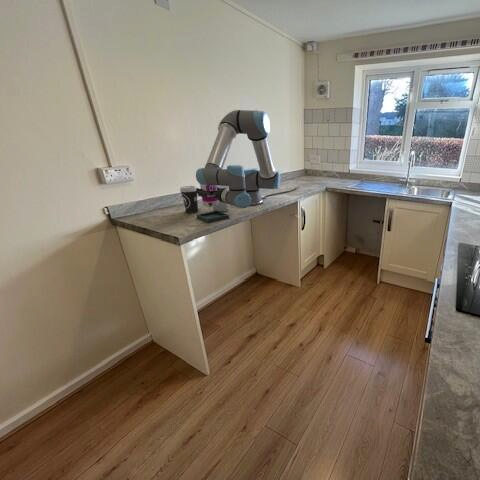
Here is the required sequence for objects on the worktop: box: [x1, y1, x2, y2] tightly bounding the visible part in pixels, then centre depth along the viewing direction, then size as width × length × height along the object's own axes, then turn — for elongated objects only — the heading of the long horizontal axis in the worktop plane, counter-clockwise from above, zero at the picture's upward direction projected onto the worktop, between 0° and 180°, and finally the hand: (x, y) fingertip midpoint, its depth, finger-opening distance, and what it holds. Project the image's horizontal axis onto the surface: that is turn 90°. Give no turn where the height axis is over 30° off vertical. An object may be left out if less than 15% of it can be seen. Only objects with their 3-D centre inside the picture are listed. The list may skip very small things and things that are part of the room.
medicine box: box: [212, 201, 228, 212], centre depth 159 cm, size 8×4×9 cm, turn 111°
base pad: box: [196, 210, 230, 224], centre depth 146 cm, size 13×13×2 cm
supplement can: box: [199, 184, 219, 208], centre depth 141 cm, size 8×8×15 cm
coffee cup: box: [179, 185, 199, 214], centre depth 155 cm, size 10×10×15 cm
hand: (205, 189), depth 143 cm, fingers closed on supplement can, 8 cm apart
